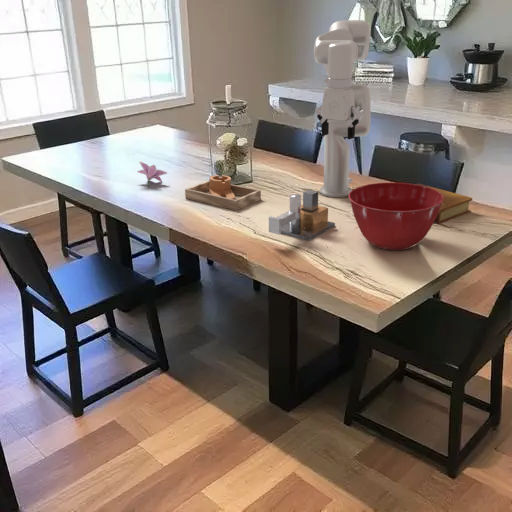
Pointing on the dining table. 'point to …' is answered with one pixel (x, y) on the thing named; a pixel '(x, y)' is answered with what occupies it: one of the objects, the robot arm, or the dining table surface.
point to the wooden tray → (247, 193)
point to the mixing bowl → (395, 213)
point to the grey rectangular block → (310, 201)
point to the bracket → (221, 186)
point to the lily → (151, 172)
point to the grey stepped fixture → (300, 221)
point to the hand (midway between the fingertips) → (337, 136)
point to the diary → (451, 205)
